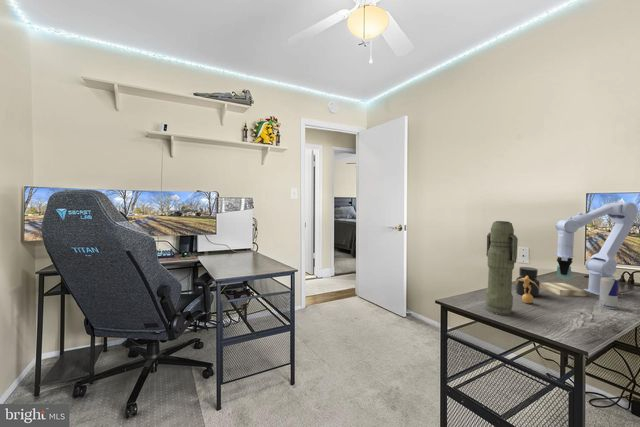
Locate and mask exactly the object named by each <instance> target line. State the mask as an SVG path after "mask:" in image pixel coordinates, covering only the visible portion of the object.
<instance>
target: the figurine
mask: <svg viewBox="0 0 640 427" xmlns="http://www.w3.org/2000/svg"><path fill="white" fill-rule="evenodd" d="M519 280H523V281H524V283H525V284H523V286H524V288H525V289H524V292H525V294H524V295H522V296H521V298H522V302H524V303H525V304H532V303H533V302H534V297H533V296H532V295H531V294H530V291H531V285H529V282H532V283H534V284H535V285H536V283H535V282H533V281H531V280H530V279H529V277H528V276H526V277H525V278H522V279H518V280H517V282H516V281H515V285H516V284H518V281H519ZM536 286H537V285H536ZM527 287H528V288H529V289H530V290H529V292H528V293H529V294H527V293H526V288H527ZM537 287H538V286H537ZM538 289H539V287H538ZM539 290H540V289H539Z"/></svg>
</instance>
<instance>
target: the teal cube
mask: <svg viewBox="0 0 640 427" xmlns="http://www.w3.org/2000/svg"><path fill="white" fill-rule="evenodd" d="M571 276H572V266H571V265H570V267H569V270H568V273H567V275H561V272H560V267H559V264H557V267H556V277H557V278H560V279H567V280H571V279H572V278H571Z"/></svg>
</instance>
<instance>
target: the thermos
mask: <svg viewBox="0 0 640 427" xmlns="http://www.w3.org/2000/svg"><path fill="white" fill-rule="evenodd" d="M514 233H515V230H514V226H513V223H512V222H510V221H505V220H495V221H493V222H492V225H491V227H490V232H488V234H487V235H486V257H487V267H488V274H487V277H488V278H487V289H486V291H485V310H486V309H487V310H488V311H487V310H486V311H487V312H489V311H490V312H489V313H491V312H493V313H492V314H494V313H497V314H496V315H499V314H502V315H501V316H510V315H509V314H511V313H513V312H512V308H513V304H514V297H513V293H512V287H513V286H512V285H513V270H514V268H515V264H516V263H517V258H518V237H517V235H515V234H514ZM511 315H512V314H511Z"/></svg>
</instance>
